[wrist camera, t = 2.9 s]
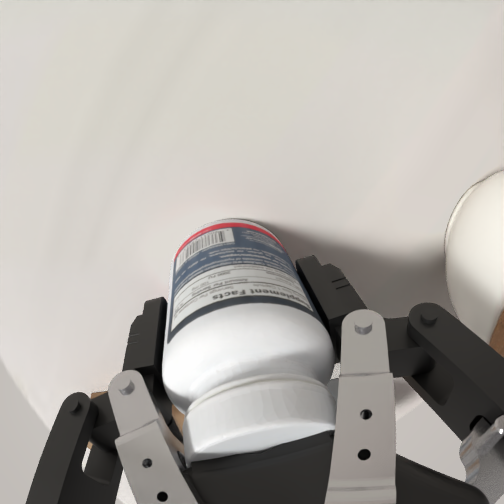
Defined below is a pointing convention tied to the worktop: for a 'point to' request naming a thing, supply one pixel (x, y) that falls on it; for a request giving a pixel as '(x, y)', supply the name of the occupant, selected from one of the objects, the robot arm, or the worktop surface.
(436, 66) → the worktop surface
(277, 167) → the worktop surface
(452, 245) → the lidded jar
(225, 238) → the pill bottle
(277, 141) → the worktop surface
